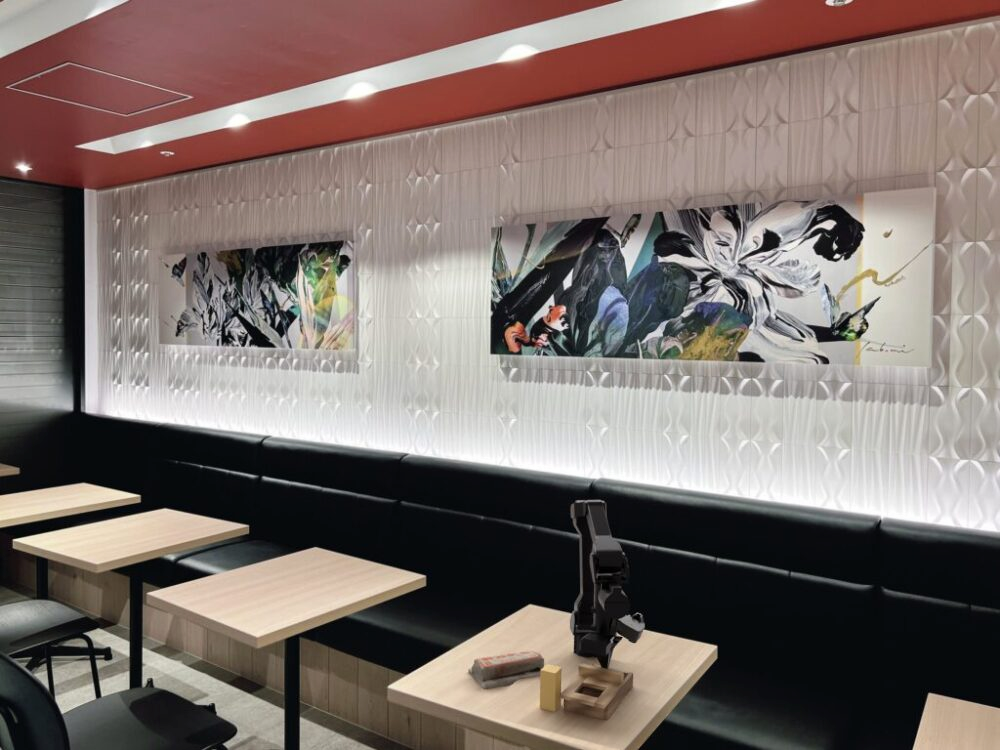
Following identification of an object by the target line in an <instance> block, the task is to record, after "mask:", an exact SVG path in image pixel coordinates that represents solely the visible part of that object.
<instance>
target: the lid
mask: <svg viewBox="0 0 1000 750" xmlns="http://www.w3.org/2000/svg"><path fill="white" fill-rule="evenodd" d="M623 680H624V672H620V671H615V670H611V669H606V668H601V667H597V666H592V664H587V663H580V664H579V665H578V674H577V676H576V677H575V678H574V679H573V680H572V681H571V682H570V683H569V684H568V685H567V686H566V687H565V688H564V690H563V691H561V694H560V698H561V700H564V699H565V700H570V701H574V702H578V703H582V704H586V705H591V706H595V707H599V708H603V709H605V707H606V706H607V705H608V704H609V702H610V701H611V700H612V698H613V697H614V696H615V695H616V693H617V692H618V691H619V690H620V688H621V687H622V686H623V684H624V681H623ZM582 686H586V687H591V688H595V689H599V690H604V691H603V693H602V694H601V695H600V696H599V697H598V698H597V697H592V696H588V695H584V694H579V693H577V692H578V691H579V690H580V688H581V687H582Z"/></svg>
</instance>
